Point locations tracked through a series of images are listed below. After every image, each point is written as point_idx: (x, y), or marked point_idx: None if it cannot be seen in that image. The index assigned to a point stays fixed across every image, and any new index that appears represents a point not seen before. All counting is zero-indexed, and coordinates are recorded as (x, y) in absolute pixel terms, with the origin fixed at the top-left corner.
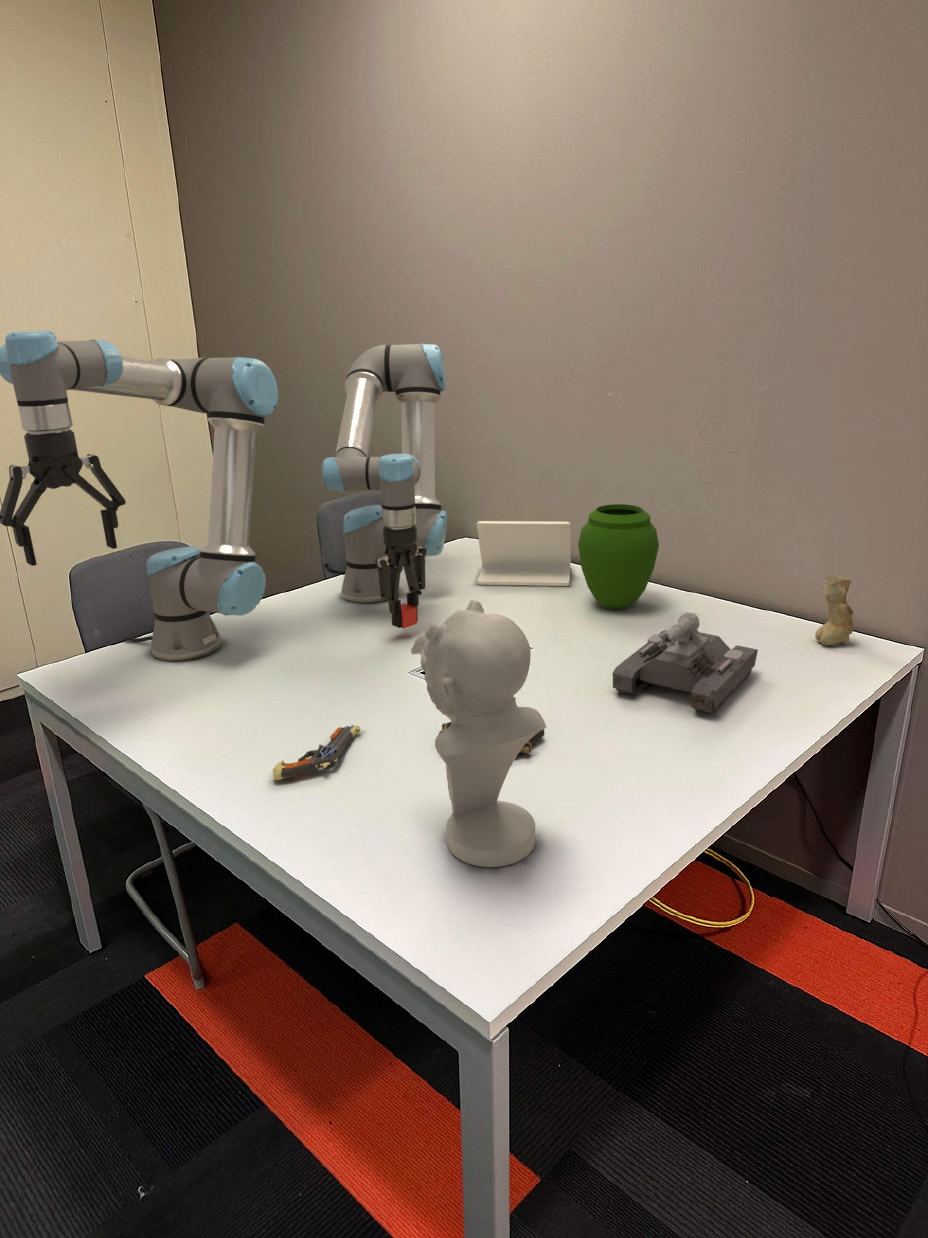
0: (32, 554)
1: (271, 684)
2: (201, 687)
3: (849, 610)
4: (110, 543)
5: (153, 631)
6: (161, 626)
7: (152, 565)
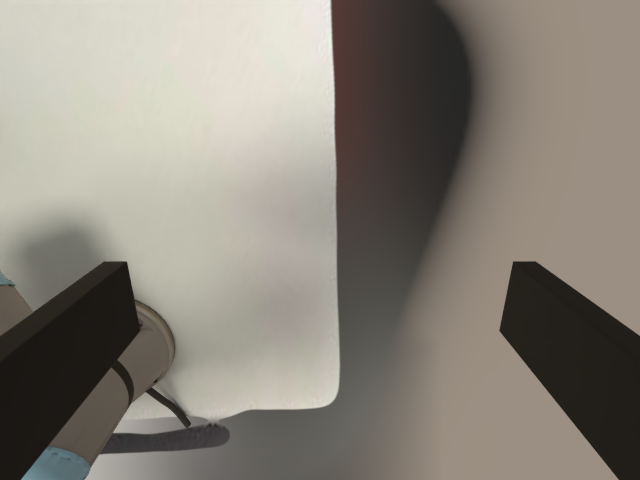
0: (557, 288)
1: (46, 115)
2: (151, 194)
3: None
4: (118, 294)
5: (150, 381)
6: (135, 367)
7: (58, 472)
